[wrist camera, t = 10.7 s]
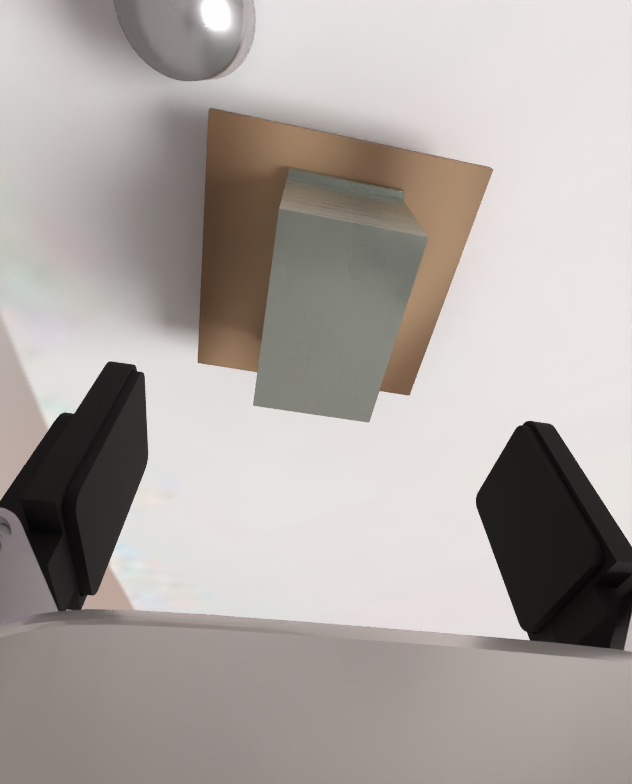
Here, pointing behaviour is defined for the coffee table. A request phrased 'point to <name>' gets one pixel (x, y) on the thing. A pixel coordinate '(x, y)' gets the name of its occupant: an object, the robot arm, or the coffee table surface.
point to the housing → (335, 294)
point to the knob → (189, 35)
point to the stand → (260, 215)
